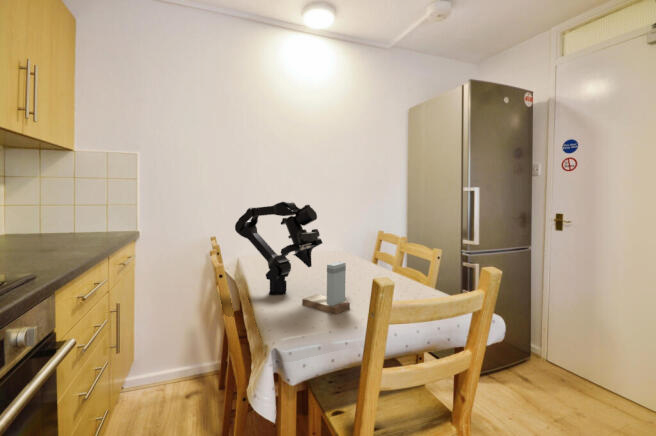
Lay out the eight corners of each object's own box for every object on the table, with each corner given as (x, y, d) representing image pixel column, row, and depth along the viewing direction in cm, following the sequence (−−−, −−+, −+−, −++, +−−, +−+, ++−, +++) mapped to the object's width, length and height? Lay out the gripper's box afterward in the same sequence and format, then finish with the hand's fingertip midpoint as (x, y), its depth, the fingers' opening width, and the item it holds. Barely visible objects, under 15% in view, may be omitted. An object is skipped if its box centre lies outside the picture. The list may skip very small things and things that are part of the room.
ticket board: (302, 304, 114) (302, 298, 114) (316, 299, 120) (316, 293, 120) (336, 314, 104) (336, 308, 104) (349, 308, 110) (349, 302, 110)
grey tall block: (326, 303, 107) (326, 264, 106) (338, 299, 113) (338, 261, 112) (333, 305, 105) (333, 265, 105) (345, 300, 111) (345, 262, 110)
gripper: (291, 225, 110) (307, 266, 107) (324, 219, 124) (338, 255, 122) (273, 237, 117) (288, 275, 114) (306, 230, 131) (320, 264, 128)
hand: (310, 266), depth 119 cm, fingers closed
